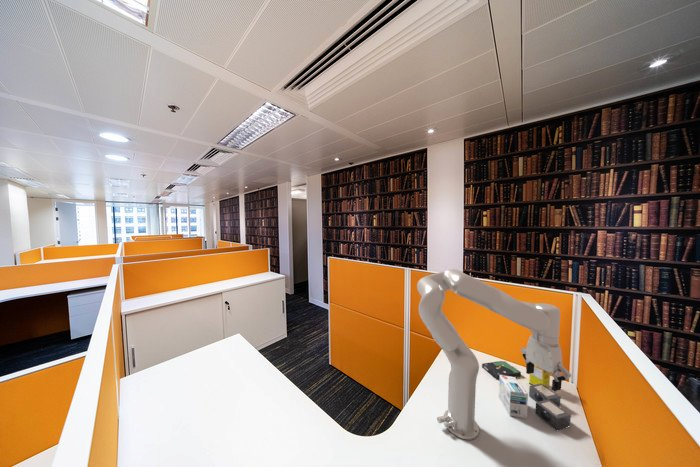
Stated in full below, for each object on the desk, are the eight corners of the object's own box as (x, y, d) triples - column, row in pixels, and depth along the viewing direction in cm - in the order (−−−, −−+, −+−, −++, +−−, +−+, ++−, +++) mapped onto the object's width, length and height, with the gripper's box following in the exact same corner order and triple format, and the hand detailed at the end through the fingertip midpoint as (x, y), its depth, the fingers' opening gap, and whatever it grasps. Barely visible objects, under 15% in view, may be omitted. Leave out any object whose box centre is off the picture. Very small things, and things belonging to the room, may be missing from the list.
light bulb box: (527, 419, 93) (528, 394, 92) (509, 416, 94) (510, 391, 93) (514, 399, 103) (515, 376, 102) (497, 396, 104) (498, 374, 104)
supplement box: (549, 387, 110) (550, 366, 109) (543, 392, 107) (544, 369, 107) (535, 380, 115) (536, 359, 115) (528, 383, 113) (529, 362, 112)
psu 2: (556, 431, 87) (556, 418, 87) (534, 413, 95) (535, 402, 95) (569, 426, 89) (570, 414, 89) (547, 410, 97) (548, 398, 97)
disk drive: (497, 381, 115) (521, 377, 118) (497, 376, 115) (521, 371, 118) (481, 368, 125) (504, 364, 128) (481, 363, 125) (504, 359, 128)
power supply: (547, 410, 97) (547, 398, 96) (528, 396, 105) (529, 385, 104) (559, 407, 99) (560, 395, 98) (540, 393, 106) (541, 382, 106)
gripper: (515, 327, 93) (513, 368, 94) (564, 351, 76) (561, 400, 77) (529, 325, 95) (527, 365, 96) (580, 348, 78) (577, 396, 79)
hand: (542, 381), depth 86 cm, fingers open, 8 cm apart
